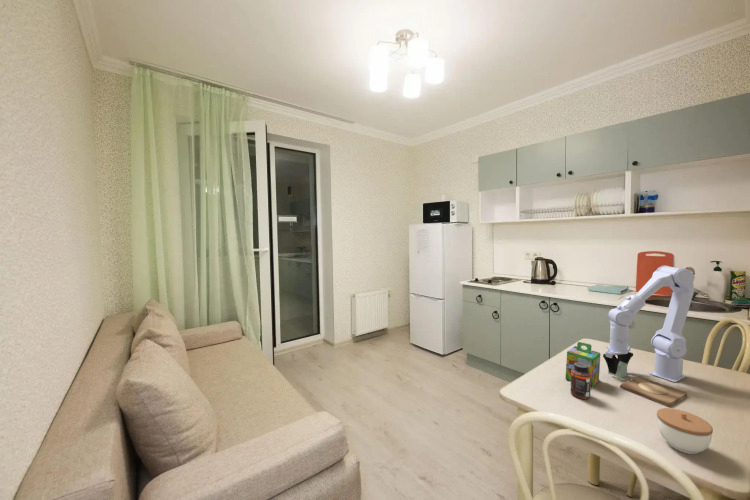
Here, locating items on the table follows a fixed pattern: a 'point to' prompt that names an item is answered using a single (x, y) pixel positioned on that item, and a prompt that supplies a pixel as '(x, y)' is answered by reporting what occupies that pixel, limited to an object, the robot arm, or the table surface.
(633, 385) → the rest board
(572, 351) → the chalk box
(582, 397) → the supplement bottle
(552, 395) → the table surface
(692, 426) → the lidded jar
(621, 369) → the block
